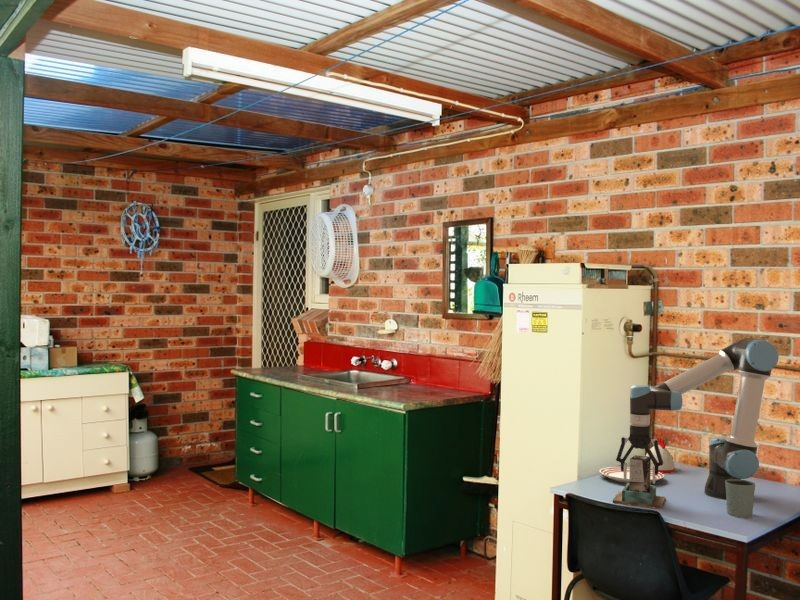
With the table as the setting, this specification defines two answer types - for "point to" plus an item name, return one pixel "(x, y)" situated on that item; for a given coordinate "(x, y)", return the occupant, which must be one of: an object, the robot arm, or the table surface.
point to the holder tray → (639, 497)
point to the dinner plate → (618, 475)
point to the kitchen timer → (663, 458)
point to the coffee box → (640, 474)
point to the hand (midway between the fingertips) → (639, 481)
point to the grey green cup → (740, 497)
